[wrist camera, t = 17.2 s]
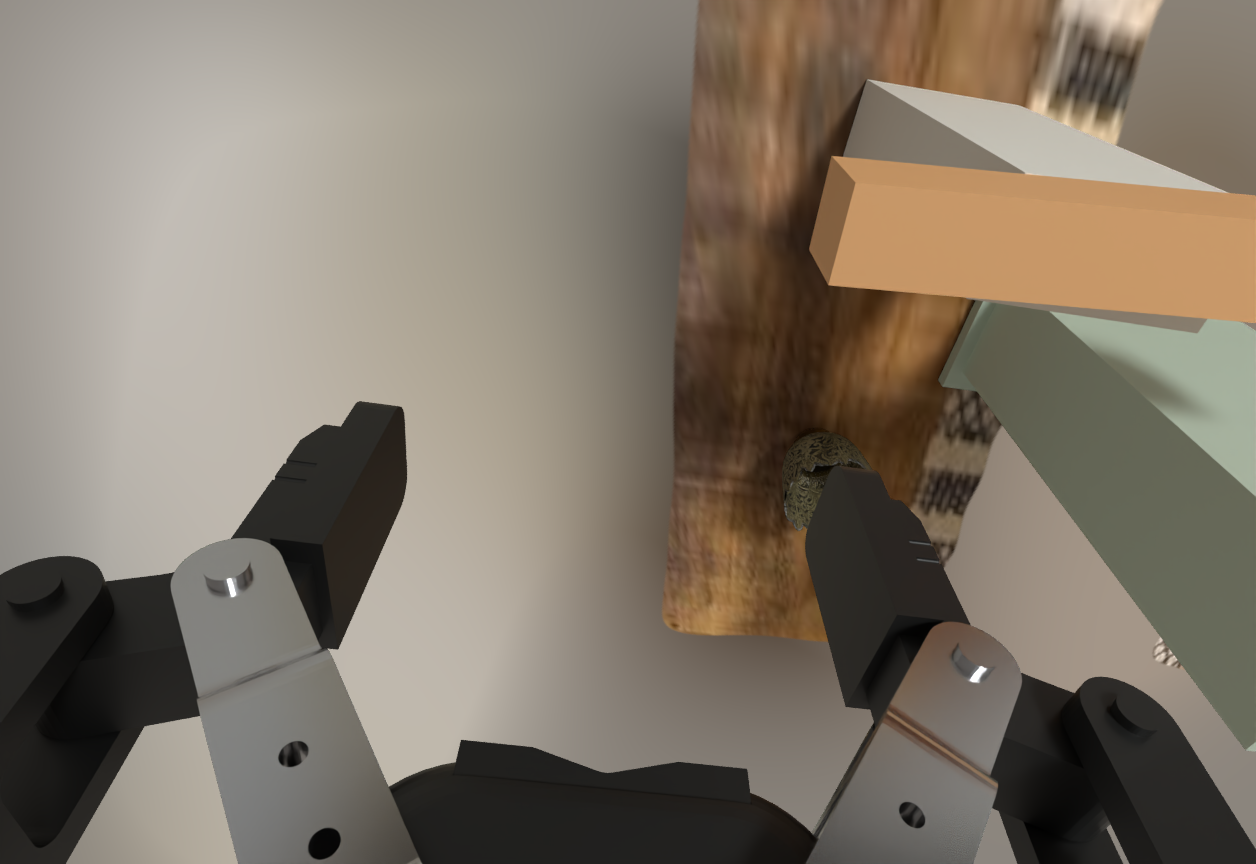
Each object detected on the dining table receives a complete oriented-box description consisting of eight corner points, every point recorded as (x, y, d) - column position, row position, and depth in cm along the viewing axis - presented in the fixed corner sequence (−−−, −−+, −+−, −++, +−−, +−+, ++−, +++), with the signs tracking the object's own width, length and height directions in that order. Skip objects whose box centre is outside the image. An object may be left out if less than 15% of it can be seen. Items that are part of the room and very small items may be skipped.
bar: (831, 155, 25) (855, 182, 22) (1520, 220, 26) (1630, 254, 23) (809, 249, 27) (828, 285, 24) (1448, 307, 28) (1541, 348, 25)
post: (866, 79, 43) (1025, 172, 25) (1019, 105, 44) (1279, 214, 26) (841, 161, 46) (966, 298, 28) (984, 185, 47) (1197, 333, 29)
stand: (999, 248, 49) (1405, 591, 23) (1235, 285, 50) (1877, 650, 24) (937, 380, 55) (1200, 767, 29) (1148, 410, 57) (1582, 807, 30)
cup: (875, 424, 58) (904, 484, 51) (826, 486, 62) (848, 549, 55) (798, 393, 56) (818, 451, 50) (753, 458, 60) (766, 521, 54)
